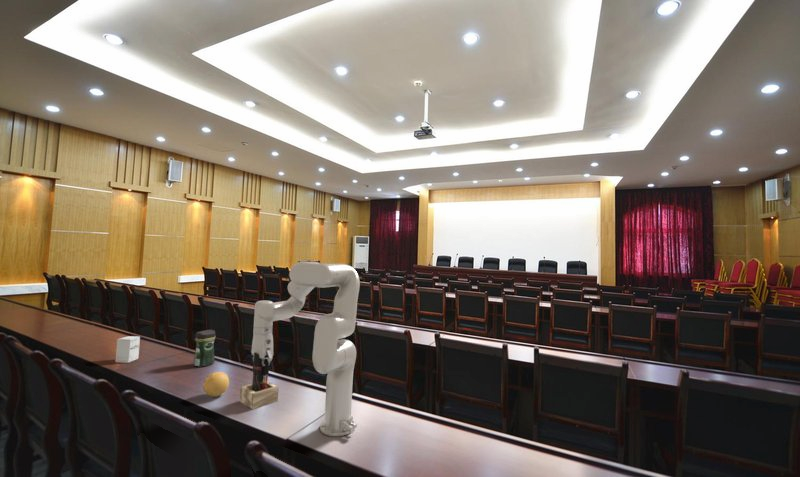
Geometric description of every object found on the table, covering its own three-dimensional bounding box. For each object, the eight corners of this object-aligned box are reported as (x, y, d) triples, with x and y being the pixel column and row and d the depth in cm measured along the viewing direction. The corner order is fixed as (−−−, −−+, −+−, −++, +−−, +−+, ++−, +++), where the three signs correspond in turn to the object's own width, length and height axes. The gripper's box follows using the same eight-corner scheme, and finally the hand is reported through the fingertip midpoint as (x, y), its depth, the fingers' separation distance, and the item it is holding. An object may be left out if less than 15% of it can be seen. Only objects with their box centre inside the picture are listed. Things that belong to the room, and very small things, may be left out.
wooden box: (277, 401, 146) (278, 386, 146) (252, 409, 137) (253, 394, 137) (264, 393, 153) (264, 380, 153) (239, 401, 144) (240, 386, 144)
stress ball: (228, 393, 154) (215, 376, 156) (237, 380, 150) (224, 363, 153) (208, 405, 145) (194, 387, 147) (216, 392, 141) (203, 373, 144)
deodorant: (261, 391, 142) (263, 355, 142) (248, 390, 143) (251, 353, 144) (269, 386, 147) (271, 351, 148) (257, 384, 149) (259, 349, 149)
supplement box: (128, 363, 186) (130, 339, 186) (114, 362, 186) (116, 338, 186) (138, 358, 193) (140, 336, 194) (126, 358, 193) (127, 335, 194)
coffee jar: (208, 361, 194) (210, 328, 195) (216, 363, 190) (218, 330, 191) (190, 365, 185) (192, 330, 186) (199, 368, 181) (201, 333, 182)
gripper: (282, 332, 144) (279, 375, 143) (260, 325, 155) (258, 366, 154) (265, 335, 138) (262, 380, 137) (244, 327, 149) (241, 370, 148)
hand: (260, 372), depth 145 cm, fingers closed on deodorant, 6 cm apart
